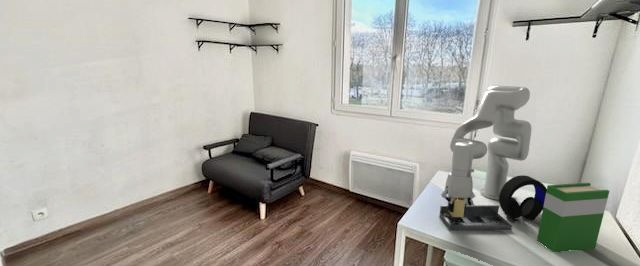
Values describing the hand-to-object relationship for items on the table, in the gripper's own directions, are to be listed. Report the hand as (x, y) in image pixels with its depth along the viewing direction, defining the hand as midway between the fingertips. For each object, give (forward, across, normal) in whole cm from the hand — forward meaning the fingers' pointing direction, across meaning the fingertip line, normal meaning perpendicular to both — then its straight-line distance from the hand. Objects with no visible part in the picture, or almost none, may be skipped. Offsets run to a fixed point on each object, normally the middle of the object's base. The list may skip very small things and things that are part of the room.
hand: (456, 210), depth 124 cm
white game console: (+7, -10, -16) cm, 20 cm away
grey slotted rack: (+7, -9, 0) cm, 11 cm away
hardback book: (+7, -37, +14) cm, 40 cm away
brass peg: (+2, 0, 0) cm, 2 cm away
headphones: (+7, -32, -5) cm, 33 cm away
